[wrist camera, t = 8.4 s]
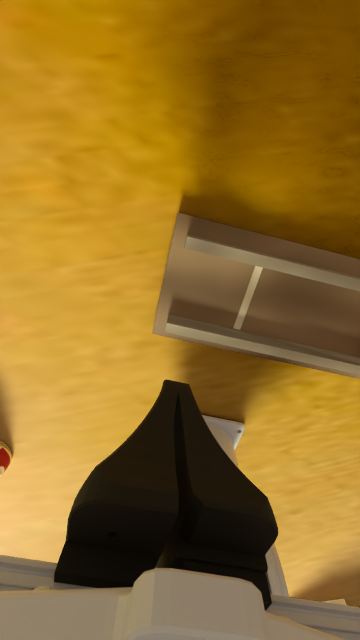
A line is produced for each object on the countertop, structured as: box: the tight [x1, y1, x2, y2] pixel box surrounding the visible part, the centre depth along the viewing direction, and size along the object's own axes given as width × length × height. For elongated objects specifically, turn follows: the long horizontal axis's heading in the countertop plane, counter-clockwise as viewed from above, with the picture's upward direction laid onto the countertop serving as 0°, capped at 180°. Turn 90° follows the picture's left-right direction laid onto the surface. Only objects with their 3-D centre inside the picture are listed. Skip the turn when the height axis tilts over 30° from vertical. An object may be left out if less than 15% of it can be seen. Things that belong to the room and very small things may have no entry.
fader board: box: [152, 213, 360, 379], centre depth 21 cm, size 10×28×3 cm, turn 77°
